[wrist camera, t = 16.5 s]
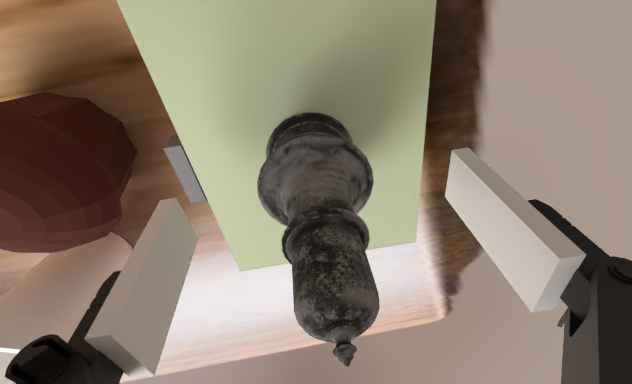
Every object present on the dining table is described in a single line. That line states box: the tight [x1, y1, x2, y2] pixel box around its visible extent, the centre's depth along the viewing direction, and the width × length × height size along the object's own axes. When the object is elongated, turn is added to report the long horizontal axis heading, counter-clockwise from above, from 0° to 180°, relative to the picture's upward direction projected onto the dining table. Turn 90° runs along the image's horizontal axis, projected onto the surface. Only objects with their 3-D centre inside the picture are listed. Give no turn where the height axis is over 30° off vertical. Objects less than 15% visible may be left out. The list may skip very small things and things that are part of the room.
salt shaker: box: [257, 113, 379, 366], centre depth 13 cm, size 6×6×12 cm
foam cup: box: [0, 232, 132, 384], centre depth 27 cm, size 10×9×13 cm
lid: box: [116, 0, 437, 271], centre depth 18 cm, size 15×18×2 cm
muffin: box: [0, 92, 137, 253], centre depth 21 cm, size 12×11×10 cm
